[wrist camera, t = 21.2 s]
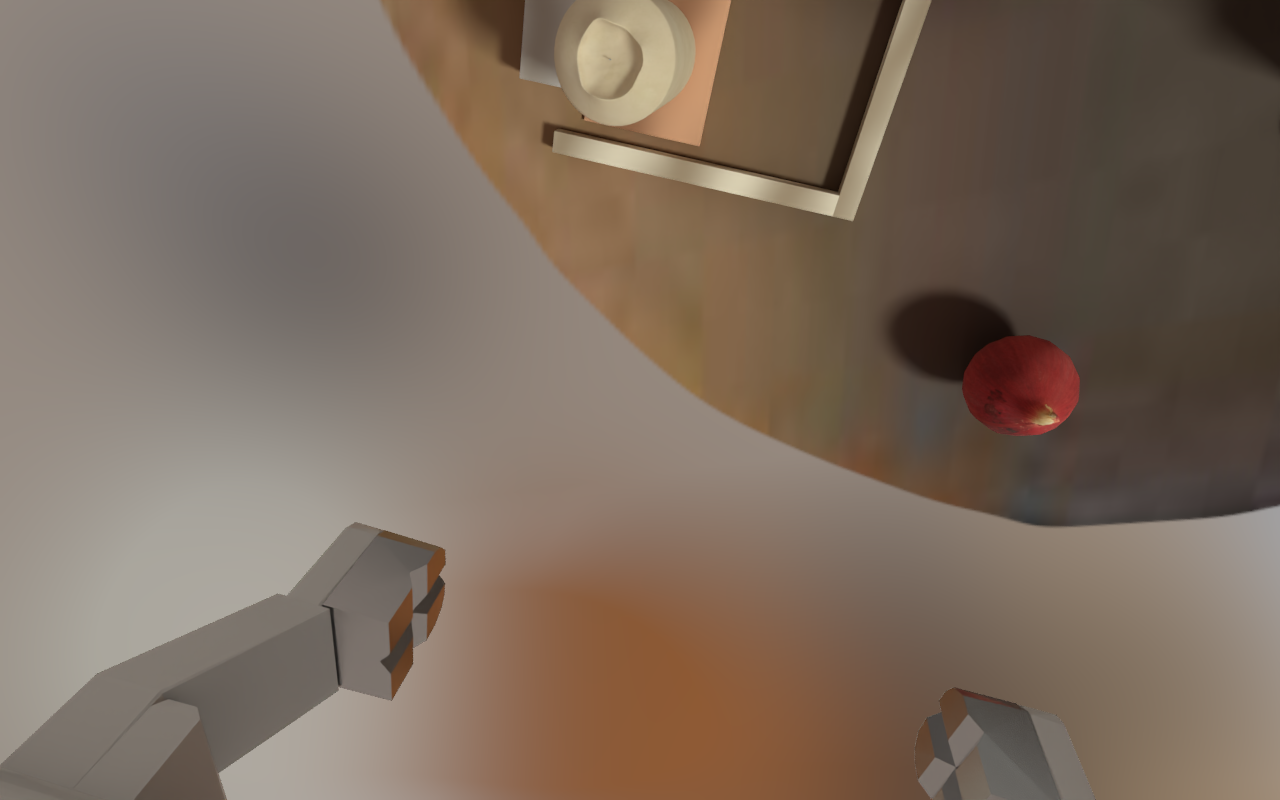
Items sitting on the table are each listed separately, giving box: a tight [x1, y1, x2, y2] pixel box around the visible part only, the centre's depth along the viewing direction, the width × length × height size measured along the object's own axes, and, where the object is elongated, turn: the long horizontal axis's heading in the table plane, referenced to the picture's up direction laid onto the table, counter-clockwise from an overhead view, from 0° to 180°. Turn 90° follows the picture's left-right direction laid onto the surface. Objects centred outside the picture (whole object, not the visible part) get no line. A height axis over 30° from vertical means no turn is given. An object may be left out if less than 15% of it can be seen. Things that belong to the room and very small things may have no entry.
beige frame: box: [520, 0, 931, 221], centre depth 35 cm, size 20×12×2 cm, turn 79°
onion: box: [962, 335, 1080, 436], centre depth 37 cm, size 6×6×8 cm
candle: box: [554, 0, 696, 126], centre depth 31 cm, size 6×6×10 cm
